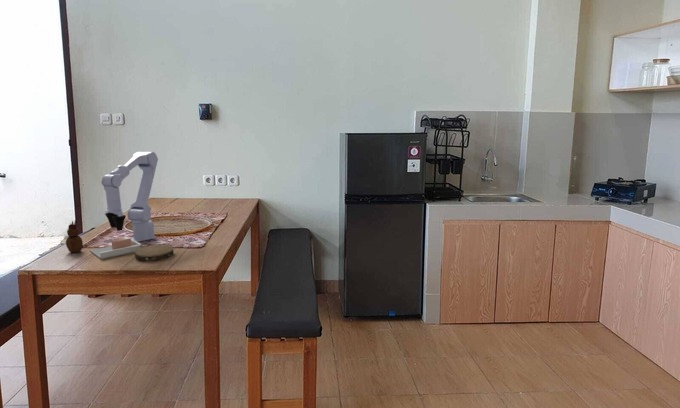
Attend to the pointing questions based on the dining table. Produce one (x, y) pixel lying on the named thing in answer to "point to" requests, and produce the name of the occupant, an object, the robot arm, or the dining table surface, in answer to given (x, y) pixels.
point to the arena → (116, 250)
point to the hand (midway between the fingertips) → (116, 228)
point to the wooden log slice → (154, 253)
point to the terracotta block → (121, 243)
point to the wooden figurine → (73, 239)
